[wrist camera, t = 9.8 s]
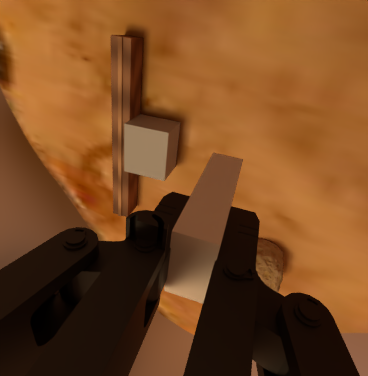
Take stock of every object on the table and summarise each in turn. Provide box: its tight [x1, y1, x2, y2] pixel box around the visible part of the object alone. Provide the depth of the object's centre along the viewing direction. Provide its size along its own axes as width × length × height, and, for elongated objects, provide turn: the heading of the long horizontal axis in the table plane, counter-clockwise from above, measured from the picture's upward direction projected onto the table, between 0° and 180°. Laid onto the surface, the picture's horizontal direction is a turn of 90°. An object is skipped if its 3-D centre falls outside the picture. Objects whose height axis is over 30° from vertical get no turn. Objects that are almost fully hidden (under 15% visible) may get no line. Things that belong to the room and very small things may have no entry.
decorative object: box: [256, 239, 284, 292], centre depth 50 cm, size 9×10×10 cm
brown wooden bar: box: [111, 35, 143, 217], centre depth 46 cm, size 30×3×4 cm, turn 173°
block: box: [124, 114, 180, 181], centre depth 45 cm, size 8×7×6 cm
